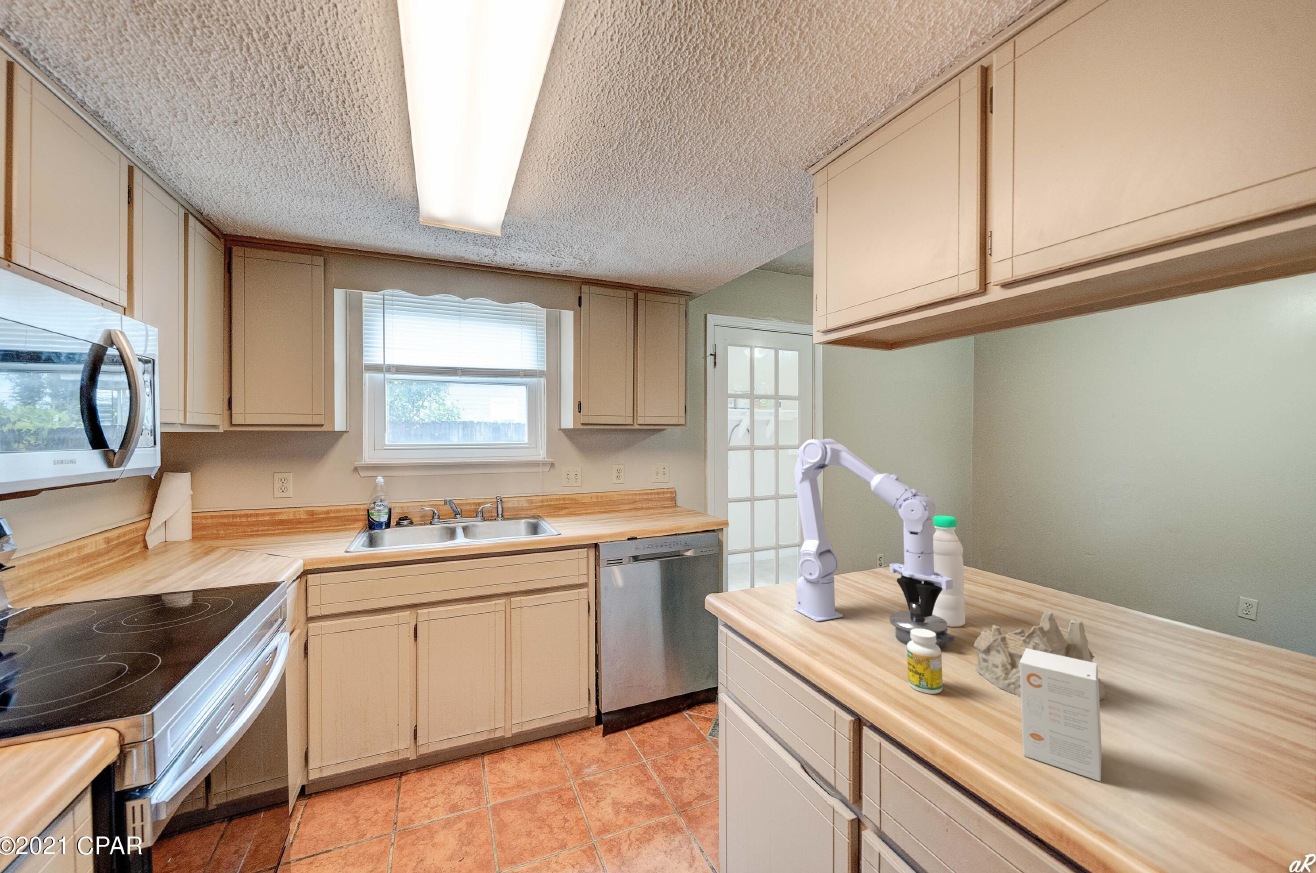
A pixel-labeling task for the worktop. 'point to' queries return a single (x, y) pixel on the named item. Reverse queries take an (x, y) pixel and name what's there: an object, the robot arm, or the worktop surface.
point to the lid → (917, 620)
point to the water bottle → (949, 571)
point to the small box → (1061, 712)
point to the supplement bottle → (924, 662)
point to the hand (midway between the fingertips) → (920, 613)
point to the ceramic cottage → (1007, 650)
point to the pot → (940, 638)
